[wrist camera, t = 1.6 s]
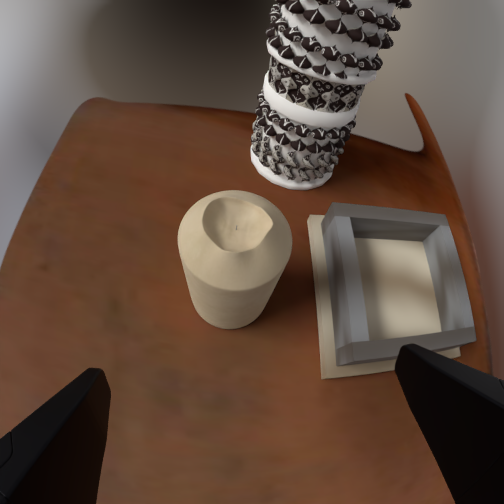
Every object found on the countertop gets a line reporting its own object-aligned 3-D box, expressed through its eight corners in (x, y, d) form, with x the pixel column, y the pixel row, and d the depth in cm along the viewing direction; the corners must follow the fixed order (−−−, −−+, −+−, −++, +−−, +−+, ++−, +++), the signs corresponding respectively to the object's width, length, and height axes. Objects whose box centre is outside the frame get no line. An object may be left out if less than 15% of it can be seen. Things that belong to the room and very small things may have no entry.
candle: (271, 267, 23) (304, 185, 14) (260, 336, 21) (292, 291, 12) (201, 252, 23) (193, 163, 14) (183, 320, 21) (157, 262, 12)
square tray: (453, 358, 21) (483, 348, 18) (321, 379, 20) (342, 375, 16) (426, 229, 27) (448, 208, 23) (307, 221, 26) (320, 192, 22)
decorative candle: (335, 138, 31) (412, -69, 9) (337, 203, 27) (462, -62, 5) (254, 120, 31) (292, -103, 9) (238, 182, 27) (283, -123, 4)
